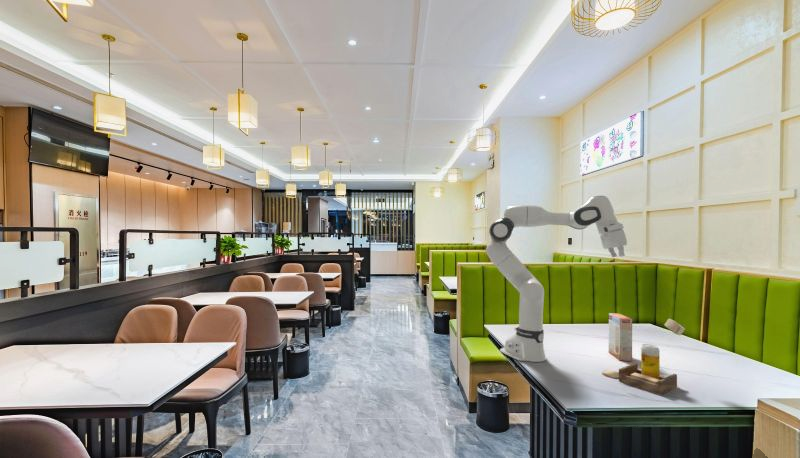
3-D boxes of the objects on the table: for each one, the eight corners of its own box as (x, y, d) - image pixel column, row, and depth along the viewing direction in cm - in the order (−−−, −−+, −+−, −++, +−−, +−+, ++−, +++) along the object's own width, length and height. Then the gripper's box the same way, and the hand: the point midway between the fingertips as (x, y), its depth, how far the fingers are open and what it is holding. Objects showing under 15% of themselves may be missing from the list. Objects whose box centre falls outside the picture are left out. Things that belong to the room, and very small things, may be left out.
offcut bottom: (630, 384, 140) (630, 374, 140) (634, 382, 142) (634, 372, 142) (656, 392, 132) (656, 381, 132) (660, 390, 134) (660, 379, 135)
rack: (618, 381, 142) (618, 368, 142) (635, 374, 150) (635, 363, 150) (661, 395, 129) (661, 381, 130) (677, 387, 137) (676, 374, 137)
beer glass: (637, 379, 144) (637, 343, 144) (651, 379, 144) (651, 343, 145) (649, 385, 138) (649, 348, 138) (663, 385, 138) (663, 348, 139)
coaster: (598, 373, 150) (598, 372, 150) (607, 370, 154) (607, 369, 154) (618, 380, 143) (618, 378, 143) (627, 376, 147) (627, 375, 147)
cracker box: (633, 362, 166) (633, 318, 167) (619, 360, 168) (619, 317, 169) (620, 353, 180) (620, 313, 181) (608, 352, 181) (608, 312, 182)
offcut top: (674, 333, 142) (680, 335, 142) (679, 326, 141) (685, 329, 141) (663, 324, 147) (669, 327, 148) (668, 318, 146) (674, 320, 146)
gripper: (594, 232, 173) (603, 258, 171) (609, 227, 153) (619, 257, 151) (607, 228, 172) (616, 255, 170) (624, 223, 152) (635, 254, 150)
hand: (618, 256), depth 160 cm, fingers open, 8 cm apart
